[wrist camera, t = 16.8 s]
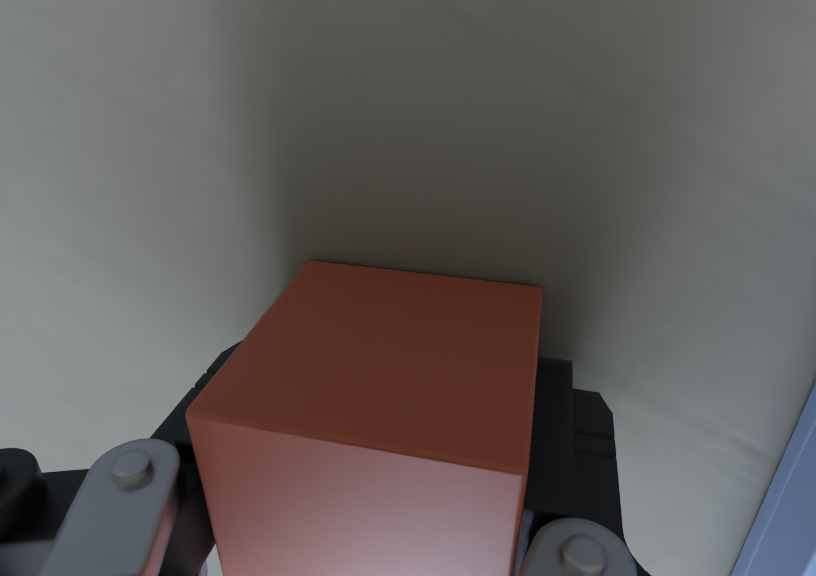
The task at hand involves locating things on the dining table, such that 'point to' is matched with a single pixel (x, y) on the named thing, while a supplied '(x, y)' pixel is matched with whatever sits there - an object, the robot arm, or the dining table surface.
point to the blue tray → (787, 510)
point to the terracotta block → (373, 427)
